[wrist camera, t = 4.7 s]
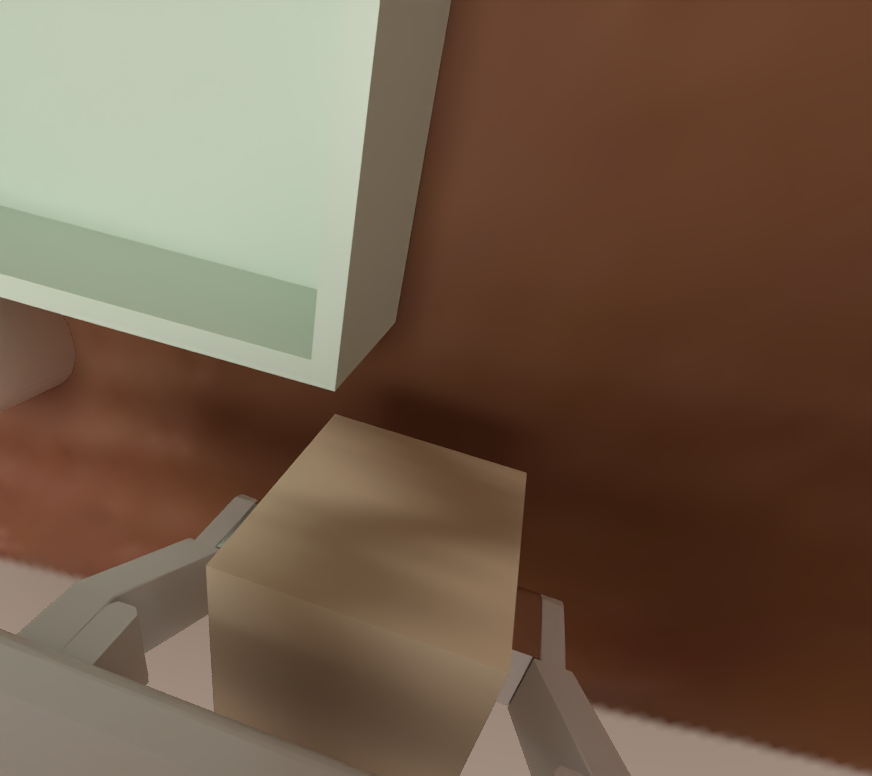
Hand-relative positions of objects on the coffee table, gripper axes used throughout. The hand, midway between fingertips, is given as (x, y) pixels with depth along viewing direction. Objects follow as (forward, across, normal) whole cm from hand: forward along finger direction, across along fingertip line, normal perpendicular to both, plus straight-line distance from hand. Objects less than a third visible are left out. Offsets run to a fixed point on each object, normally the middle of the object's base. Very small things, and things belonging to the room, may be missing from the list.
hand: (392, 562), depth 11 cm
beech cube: (+2, 0, 0) cm, 2 cm away
